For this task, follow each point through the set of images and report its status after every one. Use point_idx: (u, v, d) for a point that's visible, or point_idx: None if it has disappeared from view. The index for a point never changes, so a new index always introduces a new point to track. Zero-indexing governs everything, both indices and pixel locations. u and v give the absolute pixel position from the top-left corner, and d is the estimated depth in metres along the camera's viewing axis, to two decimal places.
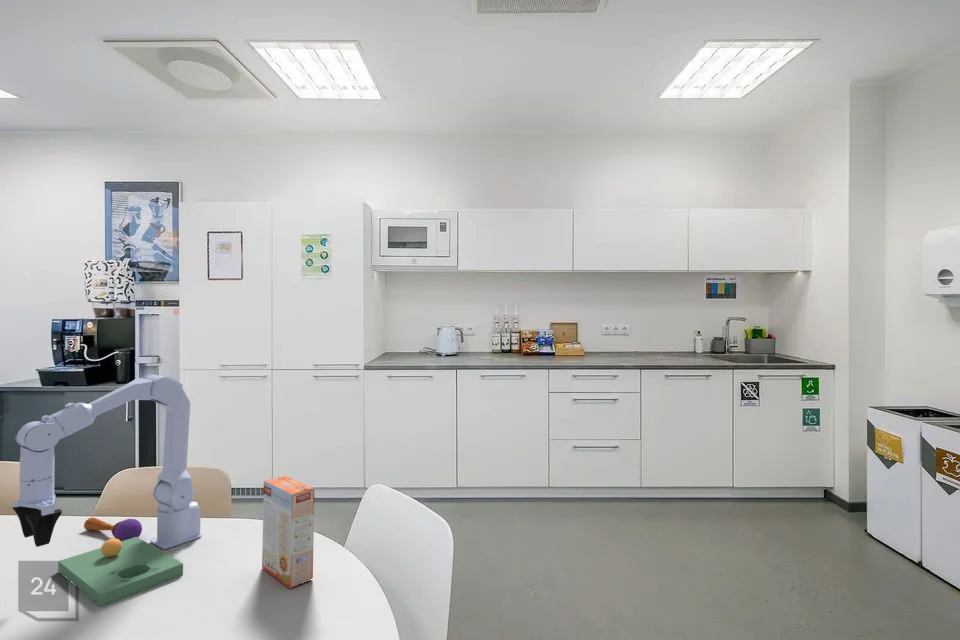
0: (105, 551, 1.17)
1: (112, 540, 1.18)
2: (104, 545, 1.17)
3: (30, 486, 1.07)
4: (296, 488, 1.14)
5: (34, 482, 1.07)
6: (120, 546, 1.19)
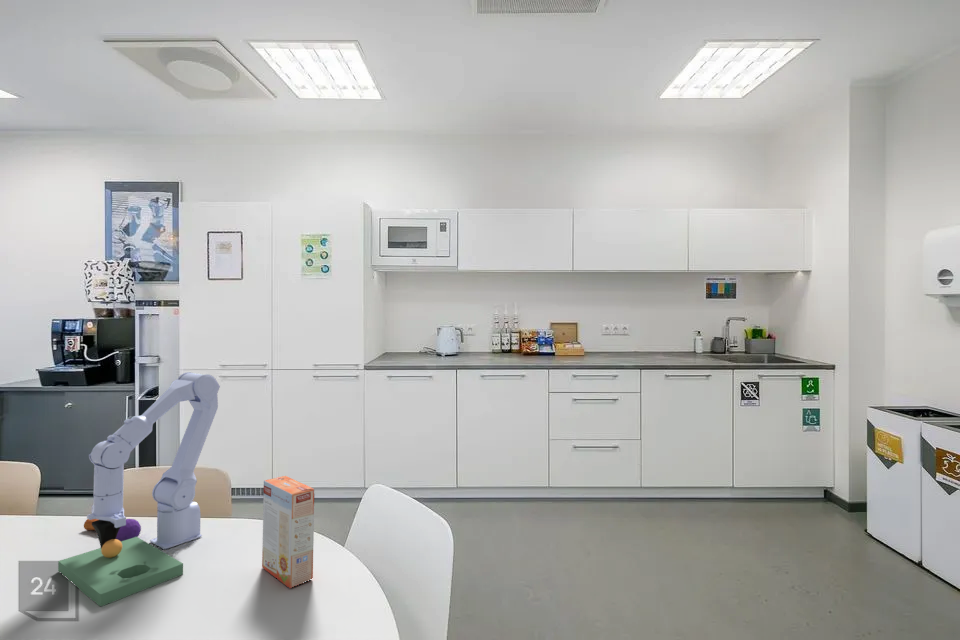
0: (105, 553, 1.16)
1: (112, 541, 1.18)
2: (104, 546, 1.17)
3: (103, 500, 1.17)
4: (296, 488, 1.14)
5: (107, 497, 1.17)
6: (120, 547, 1.19)
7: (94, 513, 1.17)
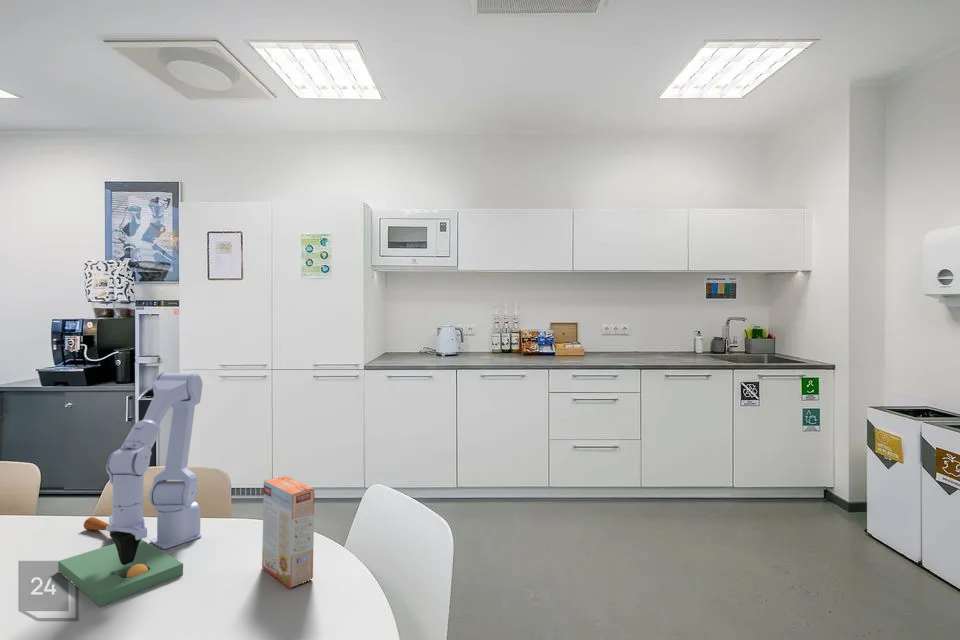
0: None
1: (140, 574, 1.11)
2: (130, 575, 1.10)
3: (123, 511, 1.11)
4: (296, 488, 1.14)
5: (127, 507, 1.11)
6: None
7: (113, 524, 1.11)
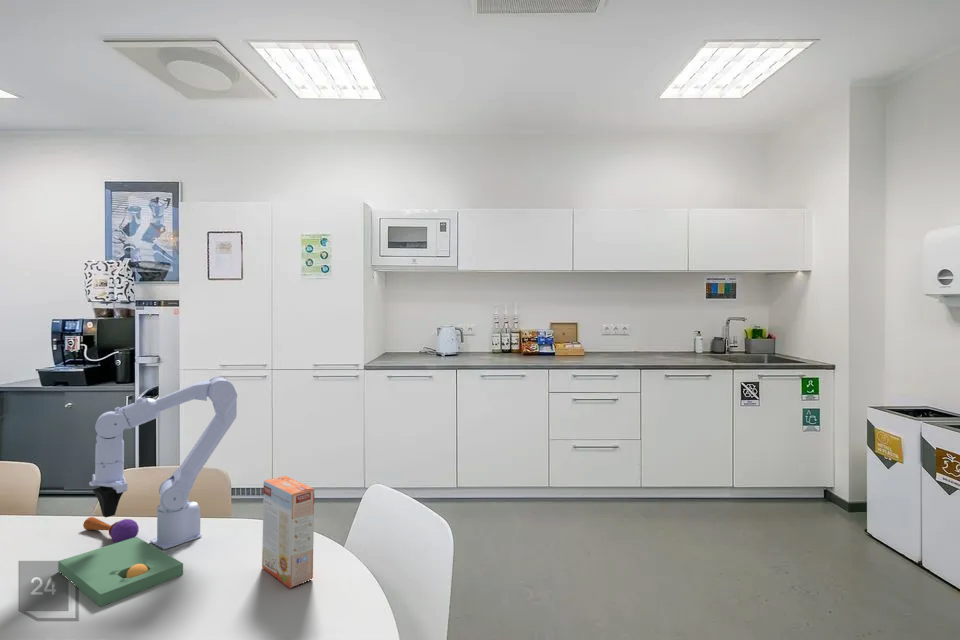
0: None
1: (139, 573, 1.11)
2: (130, 575, 1.10)
3: (105, 468, 1.22)
4: (296, 488, 1.13)
5: (109, 464, 1.23)
6: None
7: (96, 480, 1.23)
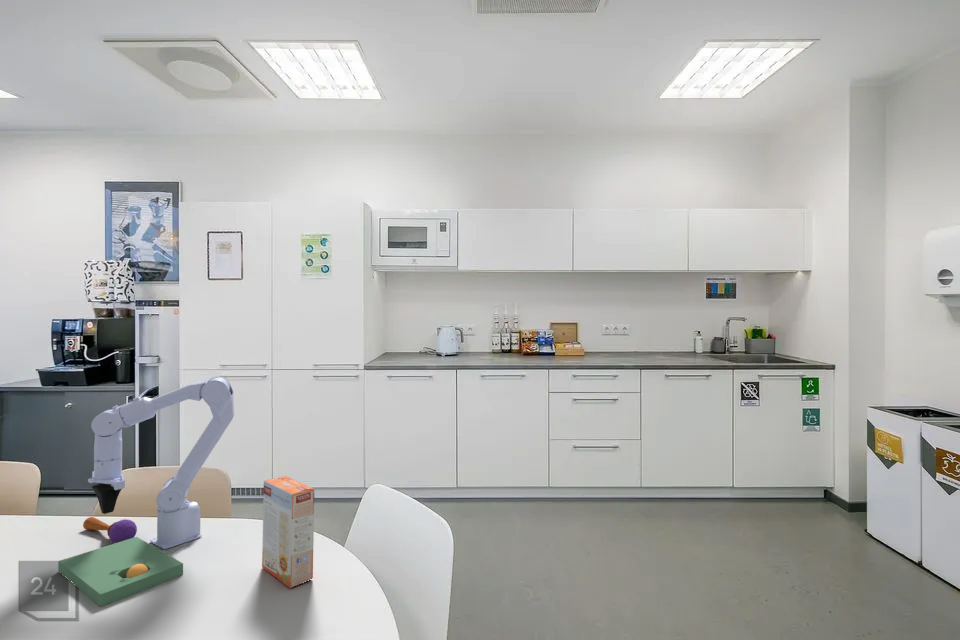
0: None
1: (139, 573, 1.11)
2: (130, 575, 1.10)
3: (103, 465, 1.25)
4: (296, 488, 1.14)
5: (107, 462, 1.25)
6: None
7: (95, 477, 1.25)
